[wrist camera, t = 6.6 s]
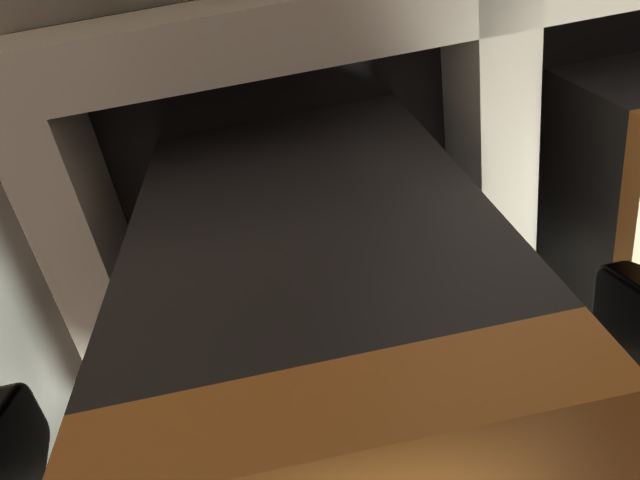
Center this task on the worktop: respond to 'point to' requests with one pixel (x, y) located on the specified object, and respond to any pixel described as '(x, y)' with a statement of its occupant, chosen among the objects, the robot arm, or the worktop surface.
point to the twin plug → (590, 169)
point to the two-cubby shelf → (270, 101)
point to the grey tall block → (338, 322)
